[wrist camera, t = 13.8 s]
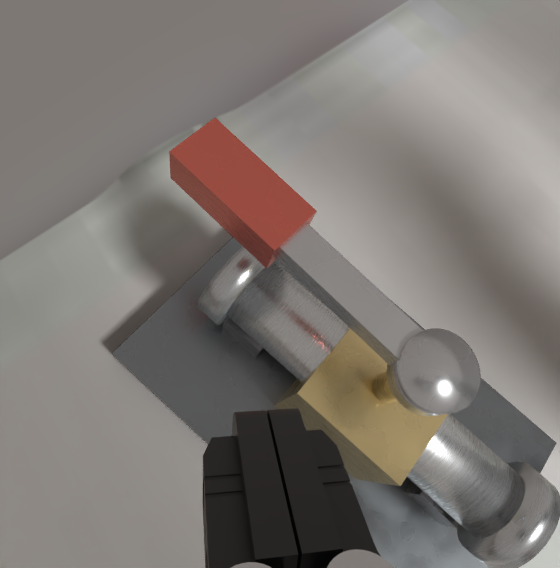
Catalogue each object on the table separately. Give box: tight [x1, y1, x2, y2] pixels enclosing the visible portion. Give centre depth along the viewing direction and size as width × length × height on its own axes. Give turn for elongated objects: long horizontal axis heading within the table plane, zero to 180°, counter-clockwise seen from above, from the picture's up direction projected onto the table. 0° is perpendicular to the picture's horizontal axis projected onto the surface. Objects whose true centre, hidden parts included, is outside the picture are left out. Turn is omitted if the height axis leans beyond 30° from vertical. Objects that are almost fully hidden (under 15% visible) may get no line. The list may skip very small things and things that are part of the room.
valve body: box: [112, 237, 560, 568], centre depth 28 cm, size 27×16×12 cm, turn 50°
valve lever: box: [169, 118, 480, 416], centre depth 22 cm, size 17×4×2 cm, turn 47°
